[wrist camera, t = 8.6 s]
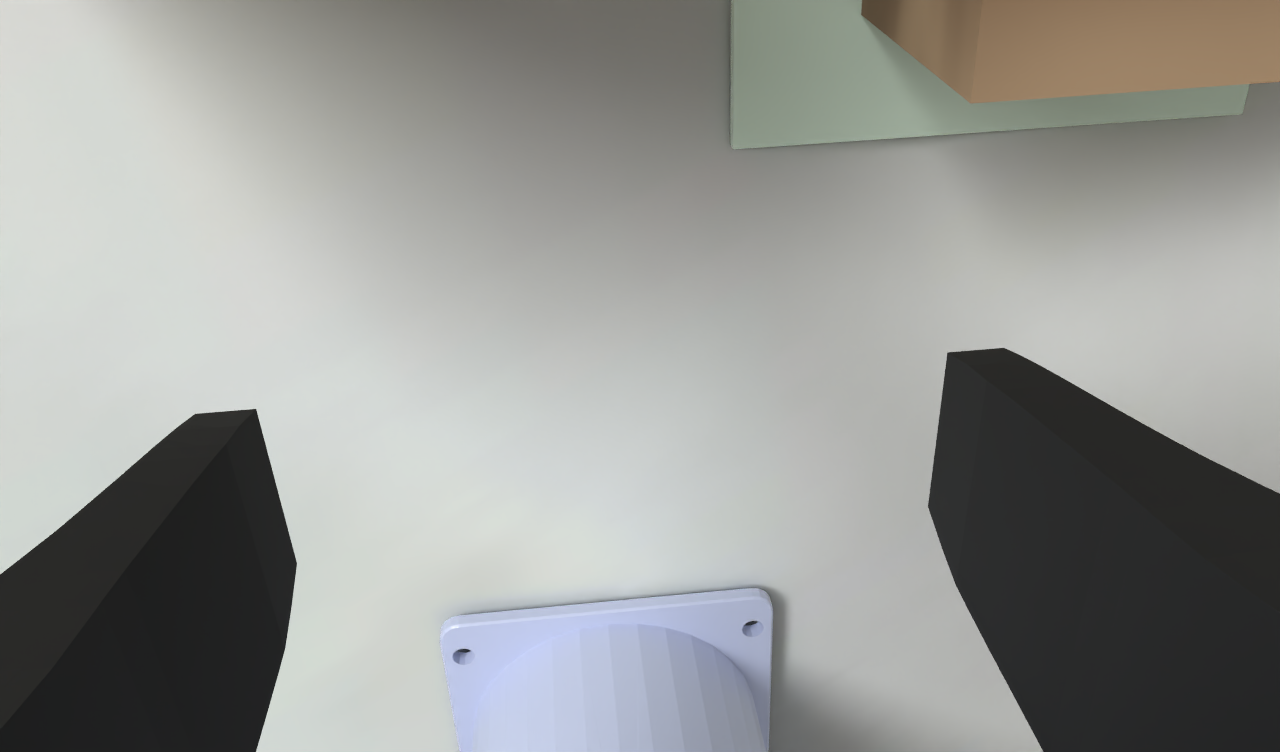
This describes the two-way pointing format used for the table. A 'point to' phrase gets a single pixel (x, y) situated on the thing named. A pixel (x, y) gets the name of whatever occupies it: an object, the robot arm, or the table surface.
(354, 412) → the table surface
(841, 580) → the table surface
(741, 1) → the sage pad
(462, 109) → the table surface
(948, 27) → the walnut block
